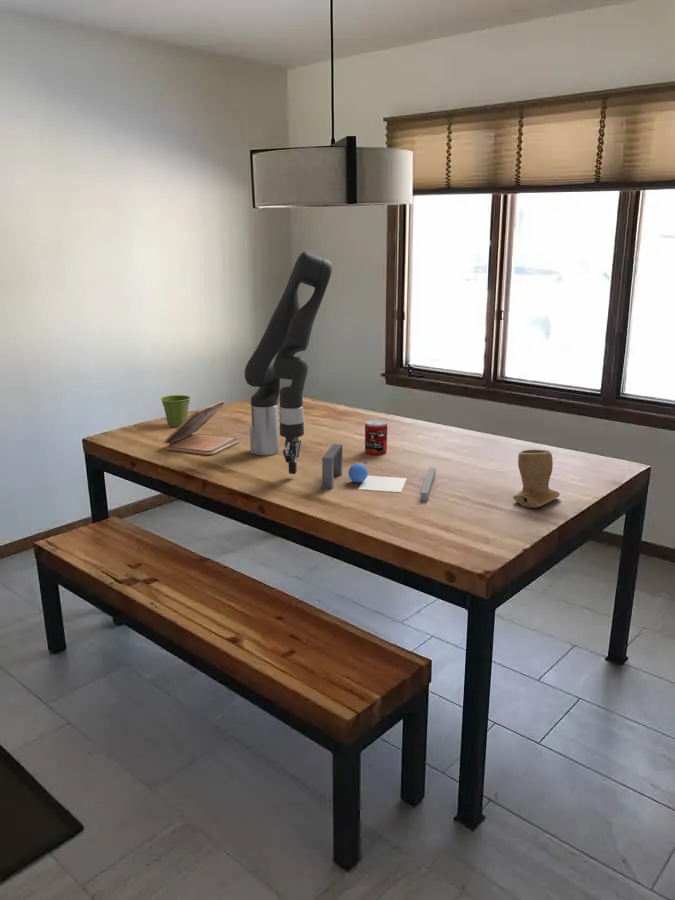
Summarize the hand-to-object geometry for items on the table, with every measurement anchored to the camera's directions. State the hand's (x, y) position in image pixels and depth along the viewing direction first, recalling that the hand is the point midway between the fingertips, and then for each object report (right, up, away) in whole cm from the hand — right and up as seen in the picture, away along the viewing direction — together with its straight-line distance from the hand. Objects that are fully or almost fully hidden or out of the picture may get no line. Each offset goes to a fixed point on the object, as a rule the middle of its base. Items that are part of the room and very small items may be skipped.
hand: (292, 473), depth 240 cm
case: (-35, +8, +36) cm, 51 cm away
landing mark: (+28, -3, -6) cm, 29 cm away
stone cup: (+71, -8, -20) cm, 74 cm away
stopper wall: (+42, -4, -9) cm, 43 cm away
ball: (+21, 0, -5) cm, 21 cm away
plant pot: (-50, +17, +63) cm, 82 cm away
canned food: (+28, +6, +27) cm, 39 cm away
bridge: (+13, -2, -2) cm, 13 cm away
